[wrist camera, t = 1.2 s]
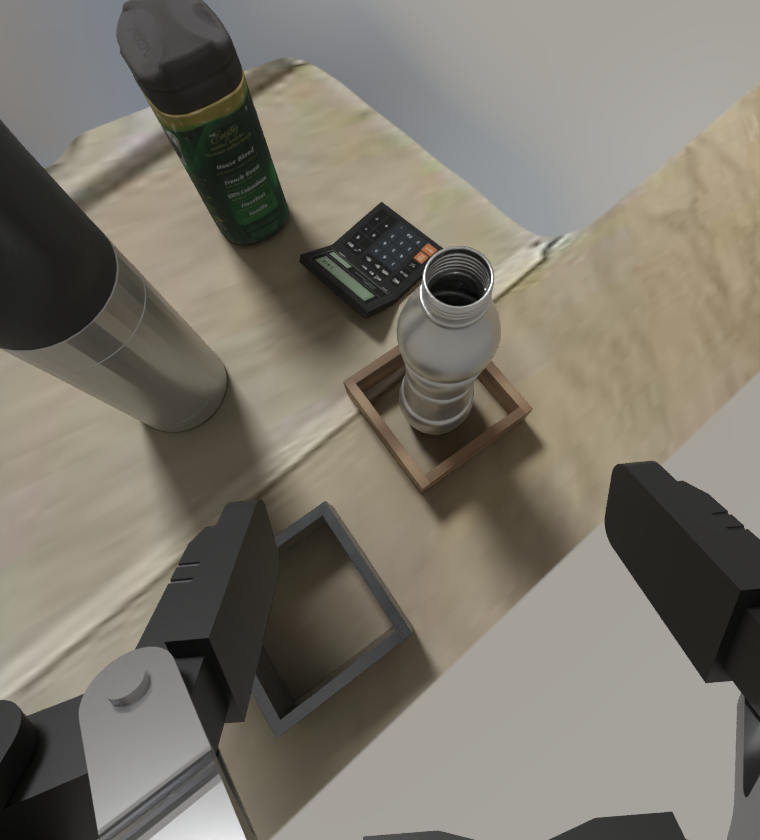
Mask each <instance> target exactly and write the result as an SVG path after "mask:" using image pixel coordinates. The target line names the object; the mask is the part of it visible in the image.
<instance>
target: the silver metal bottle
mask: <svg viewBox="0 0 760 840" xmlns="http://www.w3.org/2000/svg"><path fill="white" fill-rule="evenodd" d="M493 285H494V272H493V268H492V266H491V263H490V262H489V261H488V259H487V258H486V257H485V256H484V255H483V254H482V253H480V252H479V251H477V250H475V249H473V248H470V247H466V246H451V247H448V248H444V249H442V250H440V251H438V252H437V253H436V254H434V255H433V256H432V257H431V258H430V259H429V261H428V262H427V264H426V266H425V269H424V272H423V277H422V283H421V286H420V288H419V289H418V290H416V291H415V292H414V293H413V294H412V295H411V297H410V298H409V299H408V301H407V302H406V304H405V306H404V308H403V309H402V311H401V313H400V316H399V319H398V323H397V340H398V346H399V349H400V352H401V355H402V358H403V361H404V363H405V369H406V373H405V376H404V378H403V380H402V384H401V387H400V390H399V404H400V408H401V411H402V413H403V415H404V416H405V418H406V420H407V421H408V422H409V423H410V424H411V425H412V426H413V427H414V428H415V429H417V430H418V431H420V432H422V433H426V434H430V435H440V434H445V433H448V432H450V431H452V430H454V429H455V428H457V427H458V426H459V425H460V424H462V423H463V422H464V421H465V419H466V418H467V417H468V415H469V413H470V411H471V408H472V405H473V394H474V389H473V385H474V382H475V380H476V378H477V377H478V375H479V374H480V373H481V372H482V371H483V370H484V369H485V367H486V366H487V365H488V364H489V363H490V361H491V359H492V358H493V356H494V354H495V352H496V350H497V348H498V346H499V342H500V338H501V326H500V320H499V314H498V311H497V308H496V306H495V304H494V302H493V301H492V299H491V295H492V289H493Z"/></svg>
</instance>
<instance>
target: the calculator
mask: <svg viewBox="0 0 760 840" xmlns="http://www.w3.org/2000/svg"><path fill="white" fill-rule="evenodd" d="M442 249H443V248H442V247H441V246H439V245H438V244H437V243H435V242H434V241H433V240H431V239H430V238H429V237H427V236H426V235H425V234H423V233H422V232H421V231H419V230H418V229H417V228H415V227H414V226H413V225H412V224H410V223H409V222H408V221H406V220H405V219H404V218H402V217H401V216H400V215H398V214H397V213H396V212H394V211H393V210H392V209H390V208H389V207H388V206H386V205H385V204H384V203H383V202H381V203H380V204H378V205H377V206H376V207H375V208H374V209H373V210H371V211H370V212H369V213H368V214H367V215H366V216H365V217H363V218H362V219H361V220H360V221H359V222H358V223H357V224H355V225H354V226H353V227H352V228H351V229H350V230H349V231H347V232H346V233H345V234H344V235H343V236H342V237H341V238H339V239H338V240H337V241H336V242H335V243H334V244H332V245H330V246H327V247H324V248H321V249H317V250H314V251H311V252H308V253H304V254H301V256H300V263H301V264H302V265H303V266H305V267H306V268H307V269H308V270H309V271H310V272H312V273H313V274H314V275H315V276H316V277H317V278H319V279H320V280H321V281H322V282H323V283H324V284H326V285H327V286H328V287H329V288H330V289H331V290H333V291H334V292H335V293H336V294H337V295H338V296H340V297H341V298H342V299H343V300H344V301H345V302H347V303H348V304H349V305H350V306H351V307H352V308H354V309H355V310H356V311H357V312H358V313H359V314H361V315H362V316H363V317H364V318H365V319H366V318H368V317H370V316H372V315H374V314H376V313H378V312H380V311H382V310H384V309H386V308H388V307H390V306H392V305H393V304H394V303H395V302H396V301H397V300H399V299H400V298H401V297H402V296H403V295H404V294H405V293H406V292H407V291H408V290H409V289H410V288H411V287H412V286H414V285H415V284H416V283H417V282H418V281H419V280H420V279H421V278H422V277H423V272H424V269H425V266H426V264H427V262H428V261H429V259H430V258H431V257H432V256H433V255H434V254H436V253H437V252H438V251H440V250H442Z"/></svg>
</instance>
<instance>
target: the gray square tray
mask: <svg viewBox="0 0 760 840" xmlns="http://www.w3.org/2000/svg"><path fill="white" fill-rule="evenodd" d="M326 522H327V523H328V525H329V526H330V528H331V529H332V531H333V532H334V534H335V535H336V537H337V539H338V540H339V542H340V543H341V545H342V546H343V548H344V549H345V551H346V552H347V554H348V555H349V557H350V559H351V560H352V562H353V563H354V565H355V566H356V568H357V569H358V571H359V572H360V574H361V575H362V577H363V578H364V580H365V582H366V583H367V585H368V586H369V588H370V589H371V591H372V592H373V594H374V595H375V597H376V598H377V600H378V602H379V603H380V605H381V606H382V608H383V609H384V611H385V612H386V614H387V615H388V617H389V618H390V620H391V621H392V623H393V625H394V626H393V627H392V628H390V629H389V630H388V631H386V632H385V633H384V634H382V635H381V636H380V637H379V638H377V639H376V640H375V641H373V642H372V643H371V644H369V645H368V646H367V647H365V648H364V649H363V650H362V651H360V652H359V653H358V654H356V655H355V656H354V657H352V658H351V659H350V660H349V661H347V662H346V663H345V664H343V665H342V666H341V667H339V668H338V669H337V670H335V671H334V672H333V673H332V674H330V675H329V676H328V677H326V678H325V679H324V680H322V681H321V682H320V683H319V684H317V685H316V686H315V687H313V688H312V689H311V690H309V691H308V692H307V693H305V694H304V695H303V696H302V697H300V698H299V699H298V700H296V701H295V702H294V701H293V699H292V698H291V696H290V694H289V692H288V690H287V689H286V687H285V685H284V683H283V681H282V680H281V678H280V676H279V674H278V672H277V671H276V669H275V667H274V665H273V663H272V662H271V660H270V658H269V656H268V654H267V653H266V651H265V649H264V647H263V645H262V648H261V652H260V656H259V661H258V665H257V669H256V674H255V678H254V682H253V687H252V691H251V692H252V694H253V696H254V697H255V699H256V701H257V703H258V705H259V707H260V709H261V711H262V713H263V714H264V716H265V718H266V720H267V722H268V724H269V726H270V728H271V730H272V731H273V733H274V735H275V737H276V739H277V738H278V737H279V736H281V735H282V734H283V733H285V732H286V731H287V730H288V729H290V728H291V727H292V726H294V725H295V724H296V723H298V722H299V721H300V720H301V719H303V718H304V717H305V716H307V715H308V714H309V713H310V712H312V711H313V710H314V709H316V708H317V707H318V706H319V705H321V704H322V703H323V702H325V701H326V700H327V699H329V698H330V697H331V696H332V695H334V694H335V693H336V692H338V691H339V690H340V689H341V688H343V687H344V686H345V685H347V684H348V683H349V682H350V681H352V680H353V679H354V678H356V677H357V676H358V675H360V674H361V673H362V672H363V671H365V670H366V669H367V668H369V667H370V666H371V665H372V664H374V663H375V662H376V661H378V660H379V659H380V658H381V657H383V656H384V655H385V654H387V653H388V652H389V651H391V650H392V649H393V648H394V647H396V646H397V645H398V644H400V643H401V642H402V641H403V640H405V639H406V638H407V637H409V636H410V635H411V634H412V633H413V631H412V625H411V623H410V622H409V620H408V619H407V617H406V616H405V614H404V612H403V611H402V609H401V608H400V606H399V605H398V603H397V602H396V600H395V599H394V597H393V596H392V594H391V593H390V591H389V590H388V588H387V587H386V585H385V584H384V582H383V581H382V579H381V578H380V576H379V575H378V573H377V572H376V570H375V569H374V567H373V566H372V564H371V563H370V561H369V560H368V558H367V557H366V555H365V554H364V552H363V551H362V549H361V548H360V546H359V545H358V543H357V542H356V540H355V539H354V537H353V536H352V534H351V533H350V531H349V530H348V528H347V527H346V525H345V524H344V522H343V521H342V519H341V518H340V516H339V514H338V513H337V511H336V510H335V508H334V507H333V506H332V505H330V504H329V503H328V502H326V501H325V502H323V503H322V504H320V505H319V506H318V507H316V508H315V509H313V510H312V511H310V512H309V513H308V514H306V515H305V516H303V517H302V518H301V519H299V520H298V521H296V522H295V523H293V524H292V525H291V526H289V527H288V528H286V529H285V530H284V531H282V532H281V533H279V534H278V535H276V536H275V537H274V539H275V542H276V546H277V550H278V556H280V555H282V554H283V553H284V552H286V551H287V550H289V549H290V548H291V547H293V546H294V545H296V544H297V543H298V542H300V541H301V540H303V539H304V538H305V537H307V536H308V535H310V534H311V533H312V532H314V531H315V530H317V529H318V528H319V527H321V526H322V525H324V524H325V523H326Z"/></svg>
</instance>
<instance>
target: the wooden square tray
mask: <svg viewBox="0 0 760 840" xmlns="http://www.w3.org/2000/svg"><path fill="white" fill-rule="evenodd" d="M403 365H405V363H404V361H403V358H402V355H401V352H400V349H399V346H396V347H395V348H393V349H392V350H390V351H389V352H387V353H386V354H384V355H383V356H381V357H380V358H378V359H377V360H375V361H374V362H372V363H371V364H369V365H368V366H366V367H365V368H363V369H362V370H360V371H359V372H357V373H356V374H354V375H353V376H351V377H350V378H348V379H347V380H345V381H344V385H345V388H346V391H347V394H348V395H349V396H350V398H351V399H352V401H353V402H354V403H355V405H356V406H357V407H358V409H359V410H360V411H361V413H362V414H363V415H364V417H365V418H366V420H367V421H368V422H369V424H370V425H371V426H372V428H373V429H374V430H375V432H376V433H377V435H378V436H379V437H380V439H381V440H382V441H383V443H384V444H385V445H386V447H387V448H388V450H389V451H390V452H391V454H392V455H393V456H394V458H395V459H396V460H397V462H398V463H399V464H400V466H401V467H402V469H403V470H404V471H405V473H406V474H407V475H408V477H409V478H410V479H411V481H412V482H413V484H414V485H415V486H416V488H417V489H418V490H419V492H420V493H421V494H422V493H423V492H425V491H426V490H427V489H429V488H430V487H432V486H433V485H434V484H436V483H437V482H438V481H440V480H441V479H443V478H444V477H445V476H447V475H448V474H449V473H451V472H452V471H454V470H455V469H456V468H458V467H459V466H460V465H462V464H463V463H465V462H466V461H467V460H469V459H470V458H471V457H473V456H474V455H476V454H477V453H478V452H480V451H481V450H482V449H484V448H485V447H487V446H488V445H489V444H491V443H492V442H493V441H495V440H496V439H498V438H499V437H500V436H502V435H503V434H504V433H506V432H507V431H509V430H510V429H511V428H513V427H514V426H515V425H517V424H518V423H520V422H521V421H522V420H524V419H525V418H526V416H527V415H528V414H529V413H530V412H531V411H532V409H533V408H532V407H531V406H530V405H529V403H528V402H527V401H526V400H525V399H524V398H523V397H522V395H521V394H520V393H519V392H518V391H517V390H516V389H515V387H514V386H513V385H512V384H511V383H510V382H509V381H508V379H507V378H506V377H505V376H504V375H503V374H502V373H501V371H500V370H499V369H498V368H497V367H496V366H495V365H494V363H493V362H492V361H490V363H489V364H488V365H487V366H486V367H485V369H484V370H483V371H482V372H481V373H480V374H479V375H478V377H477V378H478V379H479V380H480V381H481V382H482V383H483V385H484V386H485V387H486V388H487V389H488V390H489V392H490V393H491V394H492V395H493V396H494V397H495V399H496V400H497V401H498V402H499V403H500V405H501V406H502V407H503V408H504V409H505V410H506V412H507V413H508V414H509V415H507V416H506V417H505V418H503V419H502V420H500V421H499V422H498V423H496V424H495V425H494V426H492V427H491V428H489V429H488V430H487V431H485V432H484V433H482V434H481V435H480V436H478V437H477V438H475V439H474V440H473V441H471V442H470V443H469V444H467V445H466V446H464V447H463V448H462V449H460V450H459V451H457V452H456V453H455V454H453V455H452V456H451V457H449V458H448V459H446V460H445V461H444V462H442V463H441V464H439V465H438V466H437V467H435V468H434V469H433V470H431V471H430V472H428V473H427V474H426V475H424V474H423V473H422V471H421V470H420V469H419V467H418V466H417V465H416V463H415V462H414V461H413V459H412V458H411V457H410V455H409V454H408V453H407V451H406V450H405V449H404V447H403V446H402V445H401V443H400V442H399V441H398V439H397V438H396V437H395V435H394V434H393V433H392V431H391V430H390V429H389V427H388V426H387V425H386V423H385V422H384V421H383V419H382V418H381V417H380V415H379V414H378V413H377V411H376V410H375V408H374V407H373V406H372V404H371V403H370V402H369V400H368V399H367V398H366V396H365V395H364V394H363V393H364V392H365V391H366V390H368V389H369V388H371V387H372V386H374V385H375V384H377V383H378V382H380V381H381V380H383V379H384V378H386V377H387V376H389V375H390V374H392V373H393V372H395V371H396V370H398V369H399V368H400V367H402V366H403Z"/></svg>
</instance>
